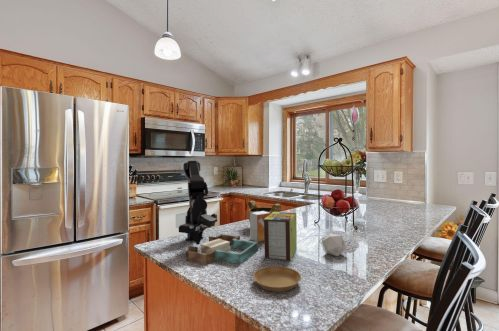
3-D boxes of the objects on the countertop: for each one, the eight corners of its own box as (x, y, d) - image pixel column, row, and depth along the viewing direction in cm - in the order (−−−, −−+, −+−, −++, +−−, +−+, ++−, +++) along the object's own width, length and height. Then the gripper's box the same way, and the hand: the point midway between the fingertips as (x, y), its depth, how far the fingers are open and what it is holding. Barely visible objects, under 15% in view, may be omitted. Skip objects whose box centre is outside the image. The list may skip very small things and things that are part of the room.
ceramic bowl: (288, 229, 145) (288, 202, 145) (268, 235, 133) (267, 206, 133) (259, 223, 161) (259, 198, 161) (238, 228, 149) (238, 201, 149)
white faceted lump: (327, 260, 101) (343, 241, 99) (314, 243, 108) (329, 226, 106) (338, 262, 106) (354, 245, 104) (325, 246, 113) (339, 230, 111)
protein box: (296, 248, 114) (296, 212, 114) (290, 261, 99) (290, 220, 99) (273, 246, 117) (272, 211, 117) (263, 258, 103) (263, 218, 102)
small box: (257, 242, 122) (257, 214, 122) (249, 239, 128) (249, 212, 127) (271, 239, 127) (270, 212, 127) (263, 236, 132) (263, 210, 132)
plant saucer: (282, 301, 71) (282, 292, 71) (243, 284, 81) (243, 276, 81) (310, 282, 82) (310, 274, 82) (272, 270, 92) (272, 262, 92)
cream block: (200, 253, 110) (200, 244, 110) (219, 247, 117) (219, 238, 117) (211, 257, 105) (211, 247, 105) (229, 251, 112) (229, 241, 112)
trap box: (180, 259, 103) (180, 250, 102) (215, 240, 126) (215, 233, 126) (234, 269, 92) (234, 259, 92) (262, 246, 116) (262, 239, 116)
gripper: (199, 213, 103) (200, 253, 103) (224, 206, 119) (224, 240, 120) (177, 211, 107) (178, 250, 107) (203, 204, 124) (204, 237, 124)
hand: (197, 244), depth 115 cm, fingers closed
